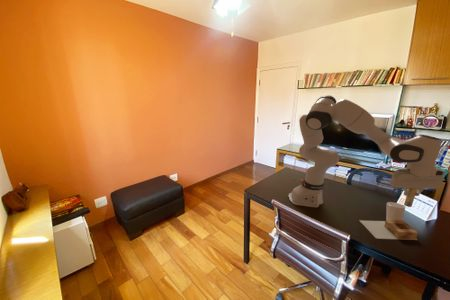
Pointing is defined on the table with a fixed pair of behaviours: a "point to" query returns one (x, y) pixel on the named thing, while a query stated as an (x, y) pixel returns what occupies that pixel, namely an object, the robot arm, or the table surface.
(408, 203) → the wooden peg
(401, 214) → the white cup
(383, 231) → the mat
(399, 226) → the square wooden tray
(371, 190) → the table surface
